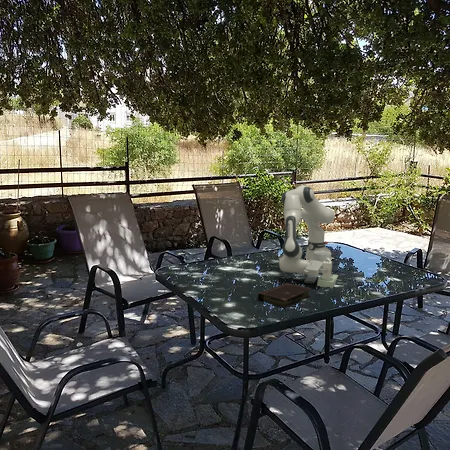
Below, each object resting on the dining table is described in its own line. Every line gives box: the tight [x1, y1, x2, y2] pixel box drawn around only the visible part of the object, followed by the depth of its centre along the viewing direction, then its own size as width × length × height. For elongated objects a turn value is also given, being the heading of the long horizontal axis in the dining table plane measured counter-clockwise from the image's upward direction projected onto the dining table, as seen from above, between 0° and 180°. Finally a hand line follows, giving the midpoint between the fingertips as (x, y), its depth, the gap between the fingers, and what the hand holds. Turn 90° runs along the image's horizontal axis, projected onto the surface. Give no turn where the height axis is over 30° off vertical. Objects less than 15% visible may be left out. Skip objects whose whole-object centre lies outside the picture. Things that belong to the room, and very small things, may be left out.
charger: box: [321, 260, 333, 280], centre depth 263 cm, size 4×4×11 cm
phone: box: [303, 275, 319, 285], centre depth 273 cm, size 13×6×1 cm, turn 158°
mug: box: [314, 251, 332, 262], centre depth 289 cm, size 15×11×13 cm
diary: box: [257, 282, 312, 308], centre depth 241 cm, size 19×25×5 cm
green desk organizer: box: [316, 273, 339, 289], centre depth 270 cm, size 22×9×4 cm, turn 158°
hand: (328, 269), depth 263 cm, fingers closed on charger, 4 cm apart
